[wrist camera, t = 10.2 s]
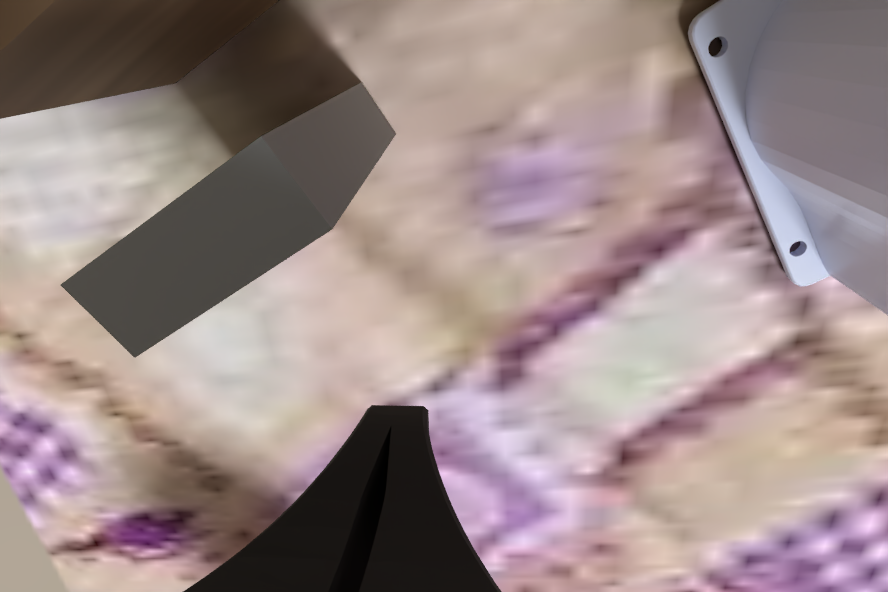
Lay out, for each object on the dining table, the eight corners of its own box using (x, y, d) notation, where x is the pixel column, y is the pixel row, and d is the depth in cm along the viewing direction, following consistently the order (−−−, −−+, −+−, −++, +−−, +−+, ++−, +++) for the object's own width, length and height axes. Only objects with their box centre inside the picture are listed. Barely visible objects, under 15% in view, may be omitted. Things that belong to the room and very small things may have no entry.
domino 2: (396, 133, 17) (332, 229, 9) (279, 213, 19) (134, 357, 11) (361, 82, 17) (260, 136, 9) (243, 168, 18) (60, 284, 10)
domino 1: (296, -14, 16) (113, -54, 8) (175, 83, 17) (-93, 137, 9) (254, -78, 15) (6, -196, 7) (131, 27, 16) (-199, 31, 8)
